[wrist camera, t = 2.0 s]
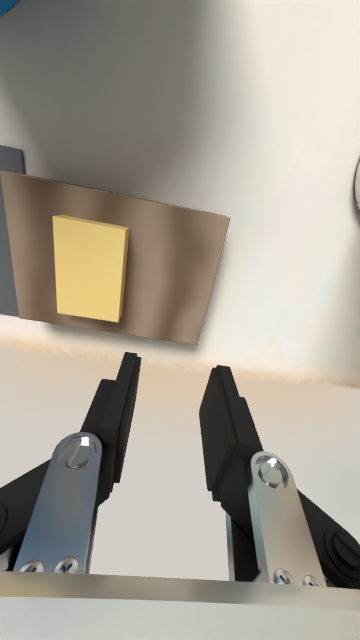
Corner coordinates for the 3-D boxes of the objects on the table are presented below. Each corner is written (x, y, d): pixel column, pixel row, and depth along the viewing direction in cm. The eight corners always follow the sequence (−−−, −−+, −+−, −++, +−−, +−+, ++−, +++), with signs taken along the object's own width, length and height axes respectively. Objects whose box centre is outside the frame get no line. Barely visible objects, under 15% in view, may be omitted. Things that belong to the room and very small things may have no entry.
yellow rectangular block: (129, 227, 22) (125, 230, 20) (122, 313, 26) (118, 322, 24) (62, 214, 22) (52, 216, 20) (65, 304, 26) (57, 313, 24)
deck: (222, 215, 25) (230, 218, 22) (194, 328, 32) (197, 344, 28) (26, 174, 24) (0, 170, 20) (38, 303, 30) (19, 318, 26)
